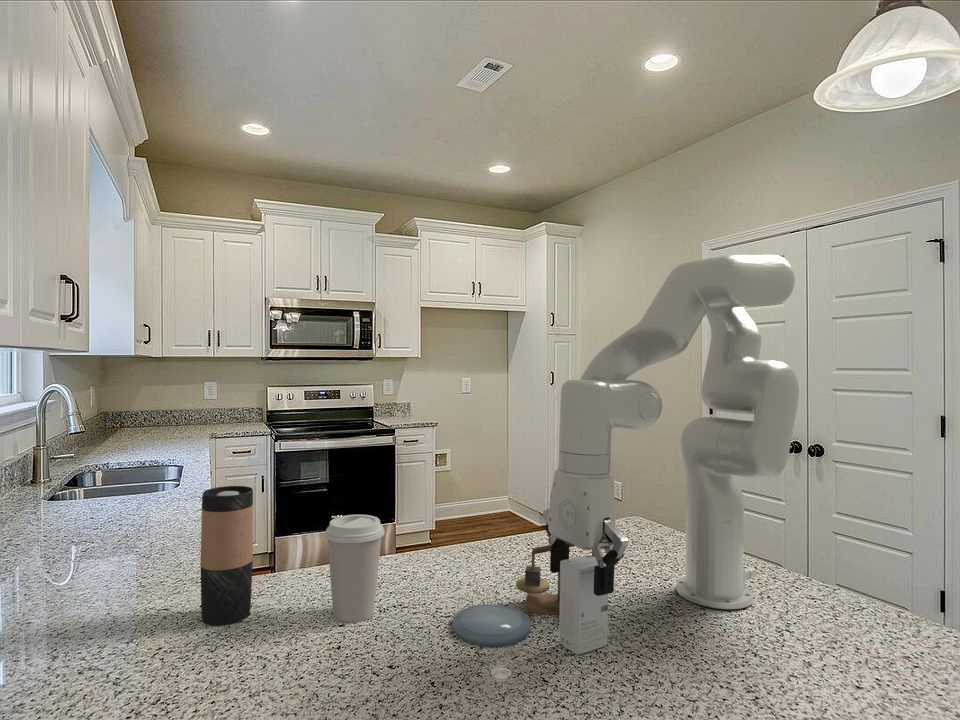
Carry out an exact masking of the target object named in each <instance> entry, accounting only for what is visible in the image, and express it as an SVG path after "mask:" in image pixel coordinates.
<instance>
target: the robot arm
mask: <svg viewBox="0 0 960 720" xmlns="http://www.w3.org/2000/svg"><path fill="white" fill-rule="evenodd" d="M795 280H796V279H795V272H794V270H793V267H792V265H791V264H790V263H789V262H788V260H787V259H785V257H784V258H783V256H779V255H776V254H761V255H759V254H758V255H757V254H753V255H752V254H750V255H749V254H731V255H721V256H715V257H710V258H709V257H708V258H702V259H698V260H691V261H686V262H683V263H680V264H679V265H677V266H676V267H674V268H673V270H672V271H671V272H669V274H668V276H667V277H666V279H665V281H664V282H663V284H662V285H661V287H660V288H659V290H658V292H657V294H656V295H655V297H654V299H653V300H652V302H651V303H650V305H649V306H648V308H647V310H646V311H645V313H644V315H643V316H642V318H641V320H639V322H638V323H636V324H635V325H633V326H632V327H630V328H629V329H628V330H626V331H625V332H624V333H621V335H620V336H618V337H617V338H616V339H614V340H613V341H612V342H610V343H608V344H607V345H606V346H605V347H604V348H602V349H601V350H600V351H599V352H598V353H597V354H596V355H595V356H594V358H592V360H591V362H590V363H589V365H588V366H587V368H586V369H585V371H584V372H583V374H582V375H581V377H580V378H579V379H570V380H569V379H568V380H566V381H565V382H563V383H562V386H561V388H560V404H559V405H560V406H559V407H560V408H559V434H558V435H559V437H558V462H557V469H556V470H555V472H554V475H553V479H552V484H551V489H550V490H551V491H550V496H549V506H548V507H549V508H548V509H546V510H544V511H542V515H543V520H544V523H545V526H544V527H545V528H544V529H545V531H546V533H547V535H548V539H547V543H548V545H552V546H551V551H550V559H549V561H550V563H549V571H550V572H551V573H553V574H557V573H558V572H560V561H562V560H567V559H570V547H569V544H571V545H574V547H576V548H579V549H582V550H584V551H591V553H592V552H593V554H594V556H595V559H596V561H597V563H598V565H597V566H595V568H594V594H595V595H597V596H601V595H605V594H608V595H609V594H613V593H614V591H615V590H614V589H615V586H614V585H615V566H618V564H619V562H620V561H621V560H622V558H624V556H625V552H626V550H627V548H628V546H629V543H630V542H629V539H628V538H627V537H626V536H625V535H624V534H623V533H622V532H621V530H620V529H619V528H618V527H617V526H616V503H615V502H616V500H615V492H614V485H613V478H612V477H611V463H612V454H611V453H612V434H613V433H612V431H613V429H615V428H616V429H621V430H628V431H630V430H631V431H641V430H645V429H648V428H650V427H651V426H653V425H654V424H655V423H656V422H658V420H659V418H660V417H661V414H662V411H663V401H662V397H661V395H660V393H659V392H658V390H657V389H656V388H655V387H654V386H653V385H652V384H649V383H647V382H645V381H641V380H635V379H633V380H632V379H628V378H629V377H631V376H632V375H633V374H635V373H637V372H638V371H640V370H643V369H645V368H648V367H650V366H653V365H656V364H659V363H661V362H664V361H668V360H669V359H672V358H673V357H675V356H677V355H681V353H683V352H684V351H685V350H686V349H687V348H688V346H689V344H690V342H691V341H692V339H693V336H694V335H695V334H696V332H697V330H698V328H699V326H700V325H701V322H702V321H703V319H704V317H705V316H706V318H707V321H708V323H709V326H710V332H711V338H710V343H709V344H710V345H709V349H708V354H707V358H706V363H705V369H704V373H703V377H702V381H701V382H702V383H701V390H700V391H701V399H702V402H703V404H704V405H706V407H708V408H709V409H712V410H714V411H719V412H723V413H730V414H731V413H733V414H743V415H754V416H753V420H745V419H743V420H742V419H736V418H728V417H717V416H704V417H703V416H702V417H697V418H694V419H692V420H691V421H689V422H688V423H687V424H686V425H685V426H684V428H683V430H682V432H681V436H680V437H681V438H680V448H681V455H682V460H683V465H684V473H685V483H686V499H685V500H686V501H685V503H686V504H685V521H686V522H685V576H684V577H682V578H680V579H678V580H677V581H676V587H675V588H676V592H677V594H678V595H679V596H680V597H681V598H683V599H685V600H687V601H689V602H691V603H693V604H696V605H700V606H703V607H706V608H711V609H719V610H740V609H745V608H747V607H750V606H751V605H752V604H753V601H754V595H753V592H752V591H751V590H750V589H749V588H748V587H746V582H747V581H748V580H749V579H754V578H756V577H757V576H758V572H757V569H756V568H755V567H753V566H748V567H745V568H744V542H745V541H744V535H745V533H744V532H745V527H744V526H745V524H744V523H745V499H744V494H743V490H742V489H741V488H742V487H741V486H740V484H739V482H738V480H737V478H736V476H738V477H744V478H749V479H754V480H763V481H770V480H774V479H777V478H778V477H779V476H781V474H782V473H783V471H784V470H785V468H786V465H787V463H788V459H789V455H790V449H791V444H792V439H793V438H792V437H793V433H794V432H793V431H794V428H795V423H796V418H797V417H796V416H797V410H798V406H799V396H800V389H799V382H798V377H797V374H796V372H795V371H794V370H793V368H792V367H791V366H790V365H789V364H787V363H786V362H782V361H778V360H773V359H772V360H771V359H760V354H761V348H762V334H761V331H760V329H759V327H758V325H757V324H756V322H755V321H754V320H753V318H752V317H751V316H750V315H749V314H748V312H747V311H746V309H745V308H754V307H771V306H777V305H781V304H782V303H784V302H786V301H787V300H788V298H789V297H790V296H791V295H792V293H793V290H794V288H795V282H796V281H795ZM566 542H567V543H566ZM565 543H566V544H565ZM568 543H569V544H568ZM602 550H604V552H605V555H604V553H603V551H602Z"/></svg>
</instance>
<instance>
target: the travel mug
mask: <svg viewBox="0 0 960 720" xmlns="http://www.w3.org/2000/svg"><path fill="white" fill-rule="evenodd" d="M201 497H202V498H201V522H200V523H201V532H200V599H201V600H200V603H201V605H200V606H201V607H200V608H201V609H200V611H201V622H202V623H203V624H205V625H207V626H212V627H213V626H214V627H221V626H222V627H223V626H229V625H230V626H231V625H233V624H236V623H239V622H242V621H243V620H245V619H247V618H248V617H249V616H250V614H251V606H252V584H253V582H252V581H253V561H254V554H253V553H254V489H253V487H250V486H245V485H244V486H243V485H226V486H219V487H212V488H209V489H206V490H204V491H203V492H202V495H201ZM246 617H247V618H246Z"/></svg>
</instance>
